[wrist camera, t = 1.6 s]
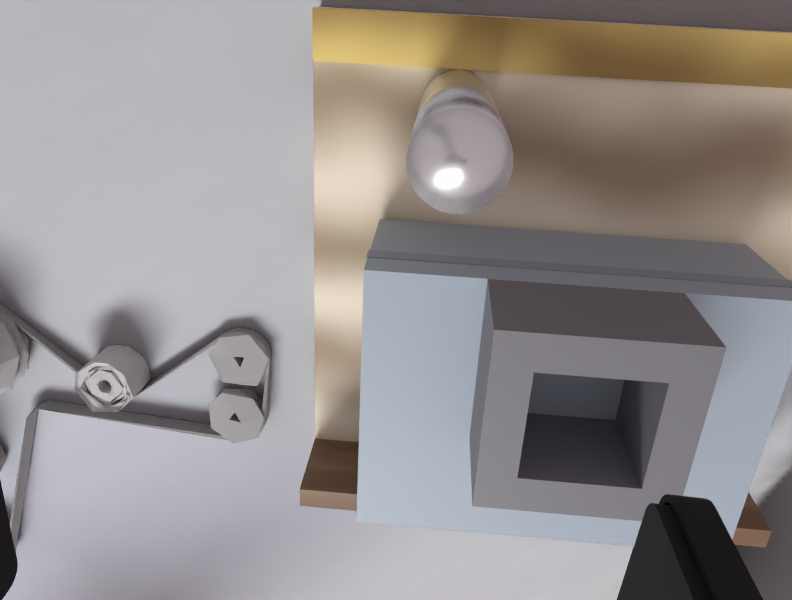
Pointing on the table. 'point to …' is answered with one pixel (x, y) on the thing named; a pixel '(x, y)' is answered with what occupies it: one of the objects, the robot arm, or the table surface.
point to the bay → (539, 160)
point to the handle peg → (458, 145)
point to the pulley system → (138, 389)
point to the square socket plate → (562, 378)
